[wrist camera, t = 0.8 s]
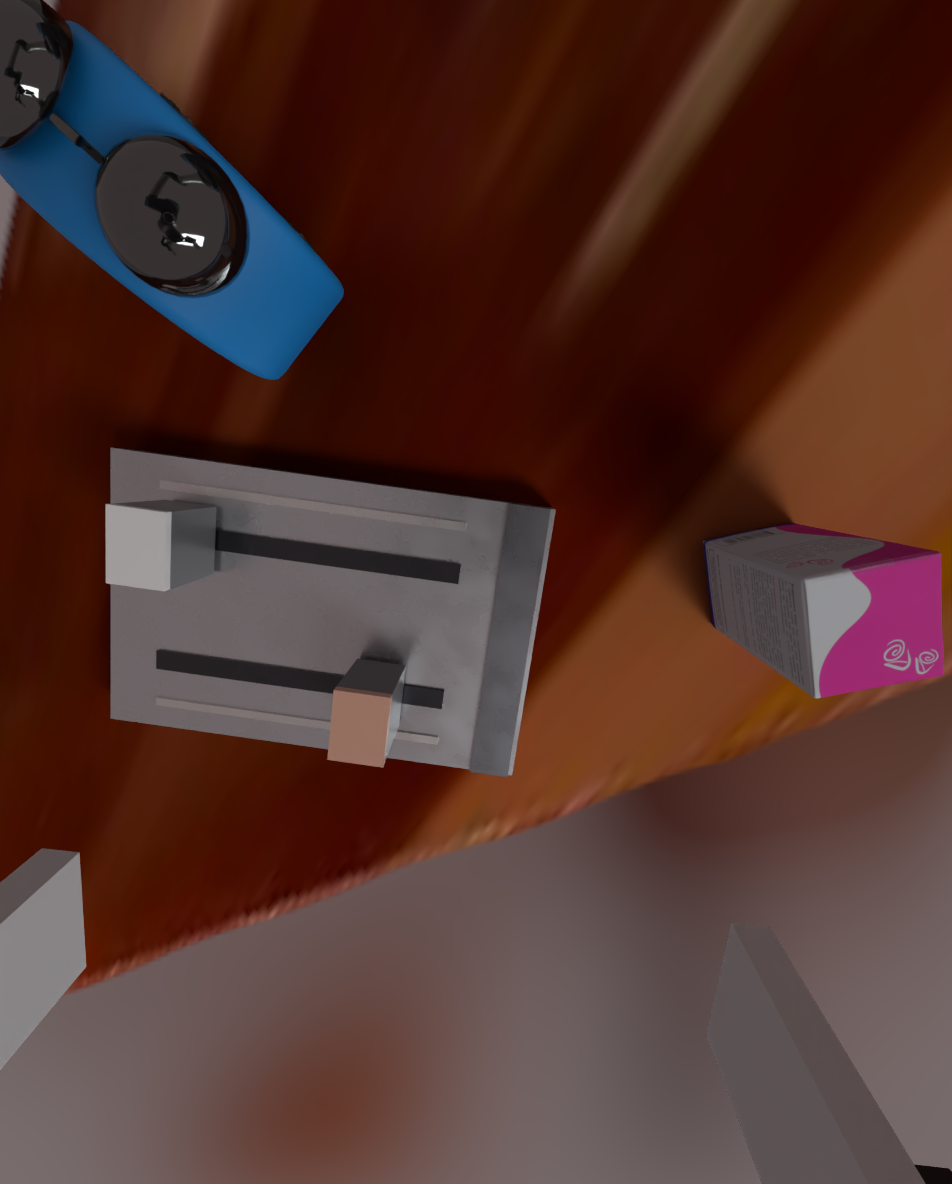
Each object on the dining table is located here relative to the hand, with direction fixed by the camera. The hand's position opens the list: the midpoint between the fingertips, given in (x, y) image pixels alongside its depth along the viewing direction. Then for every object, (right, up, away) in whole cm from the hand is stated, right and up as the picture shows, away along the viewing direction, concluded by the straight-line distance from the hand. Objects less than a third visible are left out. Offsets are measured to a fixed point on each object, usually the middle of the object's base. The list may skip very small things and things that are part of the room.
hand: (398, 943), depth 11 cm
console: (-8, +6, +25) cm, 27 cm away
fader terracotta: (-4, +1, +23) cm, 24 cm away
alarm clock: (-11, +25, +21) cm, 35 cm away
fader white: (-15, +10, +22) cm, 28 cm away
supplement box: (+19, +8, +24) cm, 31 cm away
